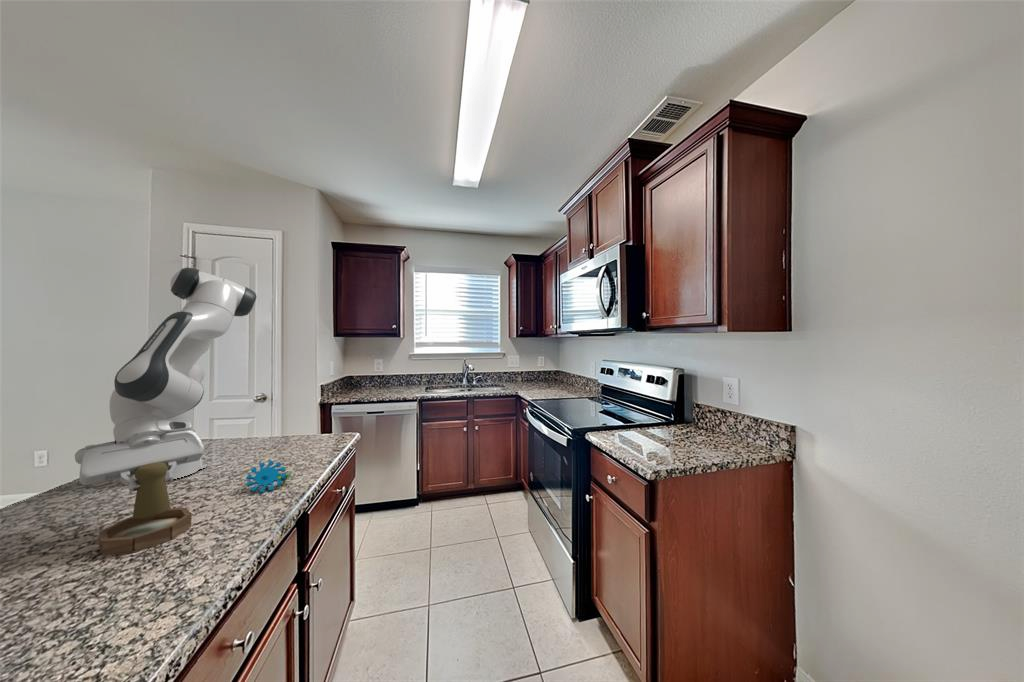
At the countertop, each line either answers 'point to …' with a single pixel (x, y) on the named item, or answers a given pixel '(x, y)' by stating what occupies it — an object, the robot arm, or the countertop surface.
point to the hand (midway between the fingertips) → (152, 485)
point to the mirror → (143, 531)
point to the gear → (267, 476)
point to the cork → (151, 490)
